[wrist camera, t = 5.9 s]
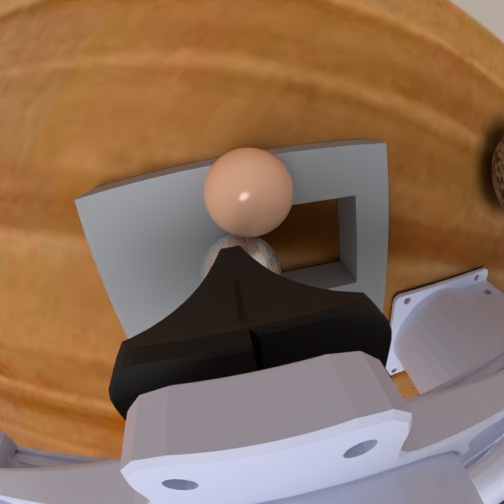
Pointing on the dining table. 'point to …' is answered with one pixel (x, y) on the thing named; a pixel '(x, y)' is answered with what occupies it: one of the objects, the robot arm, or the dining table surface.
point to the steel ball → (250, 244)
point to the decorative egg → (498, 171)
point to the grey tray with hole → (208, 232)
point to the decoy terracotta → (248, 192)
